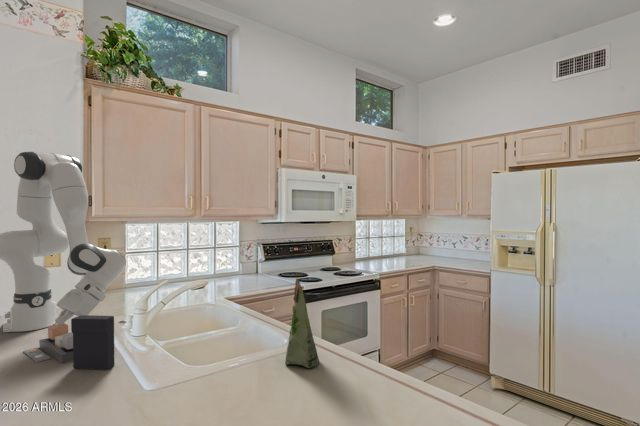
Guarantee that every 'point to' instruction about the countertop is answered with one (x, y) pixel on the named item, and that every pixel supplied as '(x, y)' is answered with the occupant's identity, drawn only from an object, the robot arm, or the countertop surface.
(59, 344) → the cream key
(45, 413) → the countertop surface
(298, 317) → the green tall pyramid
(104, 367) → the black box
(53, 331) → the terracotta key
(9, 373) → the countertop surface
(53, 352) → the keyguard frame
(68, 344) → the grey key
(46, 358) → the card
